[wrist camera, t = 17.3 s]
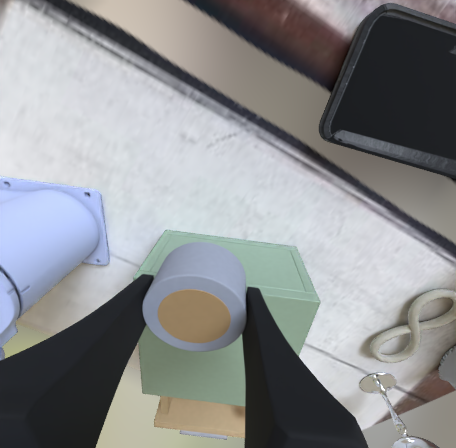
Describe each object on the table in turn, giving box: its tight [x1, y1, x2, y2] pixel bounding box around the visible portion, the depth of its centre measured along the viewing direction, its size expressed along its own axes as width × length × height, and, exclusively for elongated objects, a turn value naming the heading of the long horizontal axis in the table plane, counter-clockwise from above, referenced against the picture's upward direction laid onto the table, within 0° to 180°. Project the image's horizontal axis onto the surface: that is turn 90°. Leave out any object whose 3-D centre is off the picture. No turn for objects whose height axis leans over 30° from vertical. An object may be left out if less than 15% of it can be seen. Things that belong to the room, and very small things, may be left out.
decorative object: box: [370, 289, 456, 363], centre depth 24 cm, size 11×1×5 cm
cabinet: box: [133, 230, 320, 406], centre depth 21 cm, size 14×13×7 cm
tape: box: [142, 242, 247, 352], centre depth 12 cm, size 5×5×3 cm
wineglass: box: [360, 373, 439, 448], centre depth 24 cm, size 6×6×12 cm
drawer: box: [154, 396, 245, 440], centre depth 26 cm, size 17×11×5 cm, turn 173°
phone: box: [319, 3, 456, 179], centre depth 15 cm, size 8×1×15 cm
